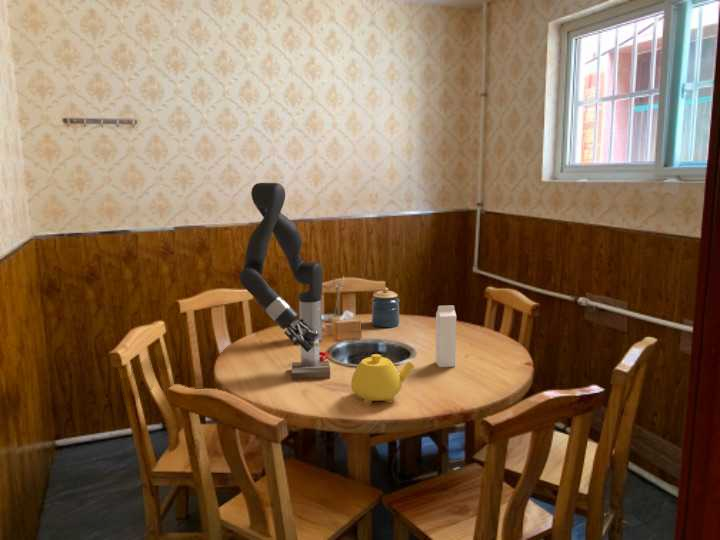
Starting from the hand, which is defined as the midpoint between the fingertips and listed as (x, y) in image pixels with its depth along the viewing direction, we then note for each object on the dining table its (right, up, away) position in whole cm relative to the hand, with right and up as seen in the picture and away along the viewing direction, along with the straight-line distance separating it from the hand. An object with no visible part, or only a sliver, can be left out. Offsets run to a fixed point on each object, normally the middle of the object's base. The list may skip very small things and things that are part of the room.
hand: (313, 346), depth 191 cm
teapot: (+23, -13, -20) cm, 34 cm away
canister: (+28, +1, +65) cm, 70 cm away
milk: (+47, -8, +9) cm, 49 cm away
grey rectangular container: (-1, -7, +2) cm, 7 cm away
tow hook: (0, -7, +19) cm, 20 cm away
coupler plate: (-1, -10, +1) cm, 10 cm away
